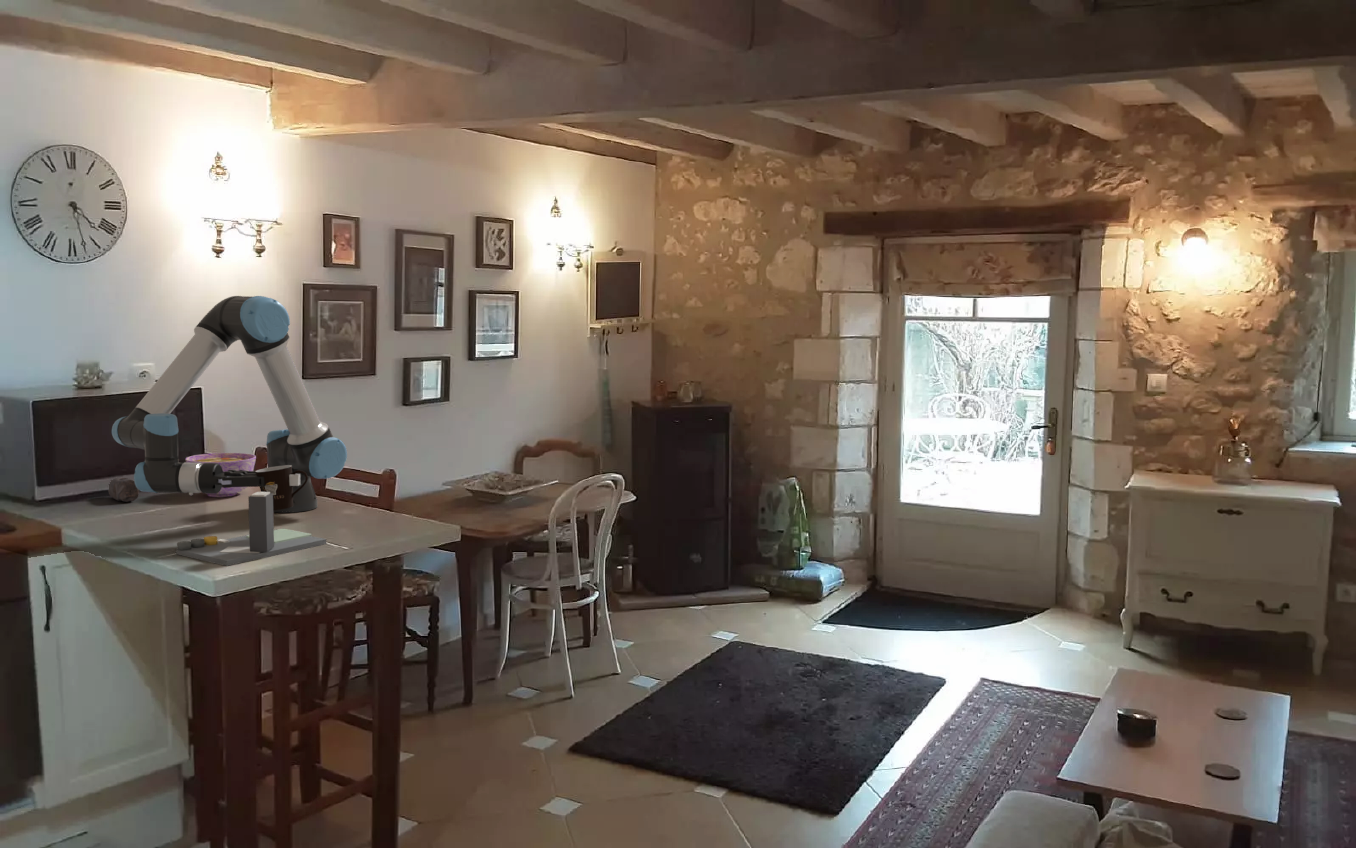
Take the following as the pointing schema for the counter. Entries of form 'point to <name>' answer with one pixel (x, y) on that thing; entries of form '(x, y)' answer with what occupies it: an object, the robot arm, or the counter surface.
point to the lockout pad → (287, 535)
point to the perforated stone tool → (123, 489)
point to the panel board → (239, 549)
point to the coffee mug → (279, 485)
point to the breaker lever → (261, 522)
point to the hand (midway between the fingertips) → (299, 479)
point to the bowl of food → (226, 467)
